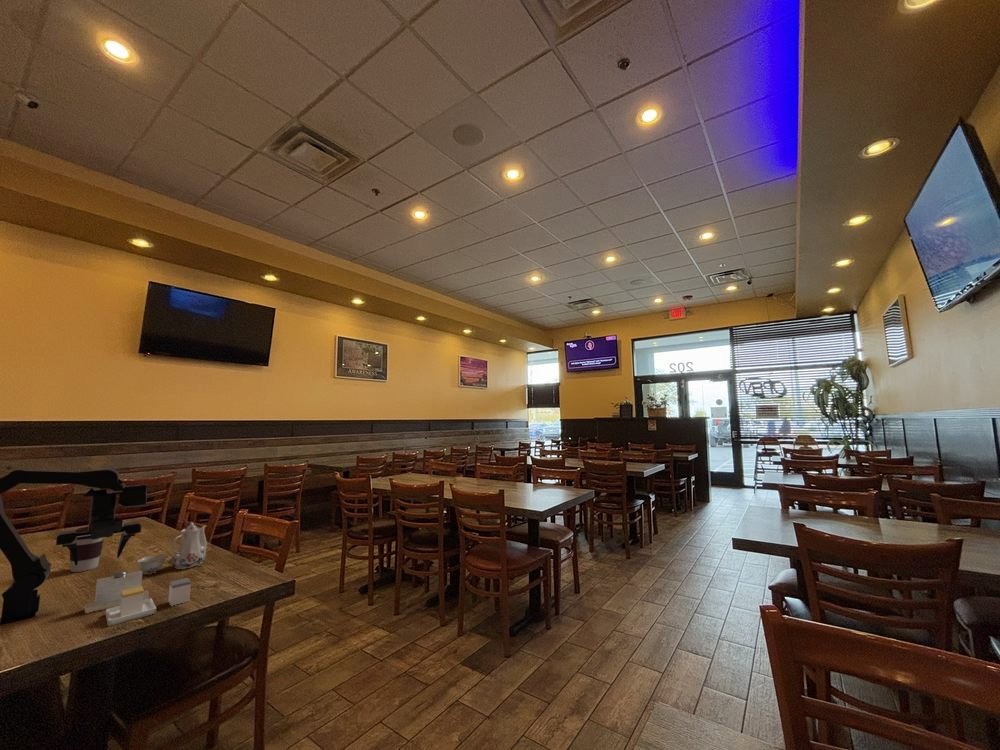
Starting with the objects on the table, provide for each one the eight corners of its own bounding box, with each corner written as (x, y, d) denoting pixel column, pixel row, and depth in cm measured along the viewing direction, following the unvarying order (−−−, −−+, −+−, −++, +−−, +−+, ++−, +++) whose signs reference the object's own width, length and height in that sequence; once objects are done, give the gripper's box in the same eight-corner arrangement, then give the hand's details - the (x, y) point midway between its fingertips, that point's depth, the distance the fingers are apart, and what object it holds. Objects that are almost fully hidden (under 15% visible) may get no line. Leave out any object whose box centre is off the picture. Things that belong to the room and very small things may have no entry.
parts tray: (108, 626, 109) (108, 620, 110) (105, 614, 116) (106, 609, 116) (156, 613, 117) (156, 608, 117) (151, 603, 124) (151, 598, 124)
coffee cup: (56, 574, 147) (61, 531, 149) (83, 564, 157) (87, 524, 159) (84, 573, 147) (89, 531, 149) (110, 564, 157) (114, 524, 159)
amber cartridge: (120, 617, 113) (122, 595, 114) (119, 612, 116) (121, 590, 117) (141, 612, 117) (143, 590, 117) (140, 607, 120) (142, 585, 120)
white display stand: (85, 613, 117) (88, 581, 118) (84, 609, 120) (87, 577, 121) (148, 598, 127) (151, 568, 128) (146, 594, 130) (149, 565, 131)
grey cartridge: (170, 606, 121) (172, 585, 122) (168, 602, 124) (169, 581, 125) (189, 601, 125) (191, 581, 125) (186, 597, 128) (188, 577, 128)
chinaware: (192, 557, 171) (191, 516, 173) (229, 553, 170) (228, 512, 172) (126, 583, 143) (126, 534, 145) (171, 579, 142) (170, 530, 144)
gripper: (59, 518, 115) (52, 576, 113) (145, 508, 129) (140, 559, 127) (59, 512, 123) (53, 566, 121) (141, 503, 136) (136, 552, 135)
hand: (97, 561), depth 126 cm, fingers open, 9 cm apart
